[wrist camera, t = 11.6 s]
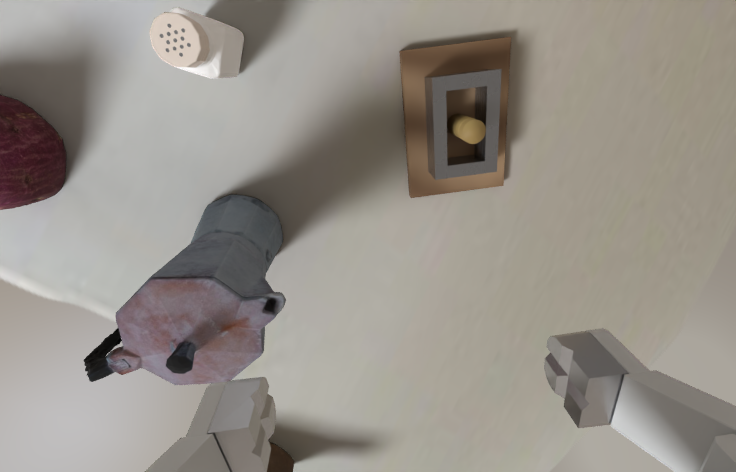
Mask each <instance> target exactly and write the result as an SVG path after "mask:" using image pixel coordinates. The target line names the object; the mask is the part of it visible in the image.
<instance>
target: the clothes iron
mask: <svg viewBox="0 0 736 472" xmlns="http://www.w3.org/2000/svg"><path fill="white" fill-rule="evenodd" d="M269 444H270V447H271V452H270V457H269V463H268V468H267V472H293V467H294V462H293V459H292V458H291V456H290V455H289V454H288V453H287V452H285V451H284V450H283V449H281V448H280V447H278V446H277V445H275V444H273V443H271V442H269Z"/></svg>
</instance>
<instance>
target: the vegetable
mask: <svg viewBox="0 0 736 472" xmlns="http://www.w3.org/2000/svg"><path fill="white" fill-rule="evenodd" d="M65 172H66V151H65V149H64V145H63V140H62V138H61V137H60V136H59V135H58V133H57V132H56V131H55V129H54V128H53V127H52V126H51V125H50V124H49V123H48V122H46V121H45V120H44V119H43V118H42V117H41V116H39V115H38V114H37V113H36V112H35V111H34V110H33V109H31V108H30V107H28V106H26V105H25V104H24V103H22V102H20V101H18V100H15V99H12V98H9V97H6V96H2V95H0V210H3V209H10V208H15V207H21V206H24V205H29V204H31V203H35V202H38V201H41V200H44V199H47V198H49V197H52V196H53V195H55V194H56V193H57V192H58V191H59V190H60V189H61V188H62V185H63V183H64V180H65Z"/></svg>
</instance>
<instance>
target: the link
mask: <svg viewBox="0 0 736 472" xmlns="http://www.w3.org/2000/svg"><path fill="white" fill-rule="evenodd" d="M501 70H502V69H486V70H478V71H470V72H462V73H454V74H446V75H438V76H430V77H424V79H425V103H426V128H427V153H428V172H429V173H430V174H431V176H432V177H433V178H434V179H435V180H438V179H446V178H454V177H461V176H469V175H476V174H484V173H492V172H497V160H498V137H499V115H500V93H501ZM467 88H475V119H477V120H480V121H482V122H483V123H484V125H485V127H486V133H485V136H484V138H483V139H482V140H481V141H480V142H478V143H476V144H474V154H473V155H465V156H458V157H450V158H447V105H446V91H451V90H459V89H467Z"/></svg>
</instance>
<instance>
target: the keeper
mask: <svg viewBox="0 0 736 472" xmlns="http://www.w3.org/2000/svg"><path fill="white" fill-rule="evenodd" d="M510 47H511V37H506V38H498V39H490V40H482V41H474V42H466V43H459V44H451V45H443V46H435V47H427V48H419V49H411V50H404V51H400V65H401V79H402V94H403V109H404V123H405V138H406V153H407V167H408V182H409V195H410V197H411V198H414V197H422V196H429V195H437V194H444V193H452V192H459V191H467V190H474V189H481V188H489V187H496V186H503V183H504V164H505V144H506V125H507V106H508V86H509V67H510ZM486 69H502V70H501V93H500V115H499V137H498V160H497V172H492V173H484V174H476V175H469V176H461V177H454V178H446V179H438V180H435V179H434V178H433V177H432V176H431V174H430V173H429V172H428V153H427V128H426V103H425V79H424V77H430V76H438V75H446V74H454V73H462V72H470V71H478V70H486ZM446 105H447V158H450V157H458V156H465V155H473V154H474V144H476V143H478V142H480V141H481V140H482V139H483V138H484V136H485V133H486V127H485V125H484V123H483V122H482V121H480V120H477V119H475V88H467V89H459V90H451V91H446Z"/></svg>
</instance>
